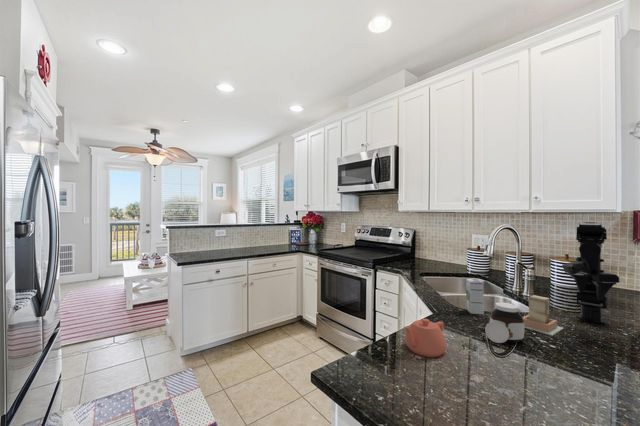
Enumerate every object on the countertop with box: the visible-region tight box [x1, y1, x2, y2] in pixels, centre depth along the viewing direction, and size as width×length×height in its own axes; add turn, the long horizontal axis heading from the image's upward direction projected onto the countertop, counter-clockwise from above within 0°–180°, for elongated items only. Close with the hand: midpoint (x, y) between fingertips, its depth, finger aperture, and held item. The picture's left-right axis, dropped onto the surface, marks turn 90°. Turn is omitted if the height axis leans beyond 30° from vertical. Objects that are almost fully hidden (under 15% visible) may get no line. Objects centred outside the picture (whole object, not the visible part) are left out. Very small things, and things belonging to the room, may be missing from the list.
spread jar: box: [484, 302, 525, 344], centre depth 97 cm, size 12×11×12 cm
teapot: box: [403, 318, 448, 358], centre depth 89 cm, size 12×18×10 cm
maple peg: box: [528, 294, 550, 324], centre depth 110 cm, size 5×5×11 cm
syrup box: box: [465, 278, 485, 315], centre depth 126 cm, size 6×6×14 cm
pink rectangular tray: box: [522, 314, 564, 337], centre depth 110 cm, size 12×12×3 cm
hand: (590, 296), depth 107 cm, fingers open, 9 cm apart
